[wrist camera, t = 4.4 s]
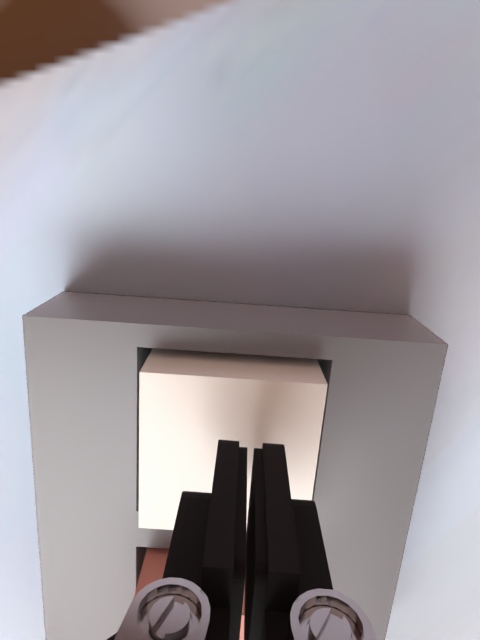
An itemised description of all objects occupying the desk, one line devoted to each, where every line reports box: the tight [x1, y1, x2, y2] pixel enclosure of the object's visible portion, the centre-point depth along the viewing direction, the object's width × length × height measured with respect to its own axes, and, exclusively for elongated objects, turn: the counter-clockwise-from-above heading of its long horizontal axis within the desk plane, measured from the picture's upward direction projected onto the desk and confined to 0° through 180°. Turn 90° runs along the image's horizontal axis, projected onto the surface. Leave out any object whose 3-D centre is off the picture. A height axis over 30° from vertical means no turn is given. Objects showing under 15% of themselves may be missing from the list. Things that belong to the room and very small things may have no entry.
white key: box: [139, 348, 328, 531], centre depth 14 cm, size 5×5×2 cm
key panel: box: [22, 292, 448, 640], centre depth 16 cm, size 12×14×3 cm
